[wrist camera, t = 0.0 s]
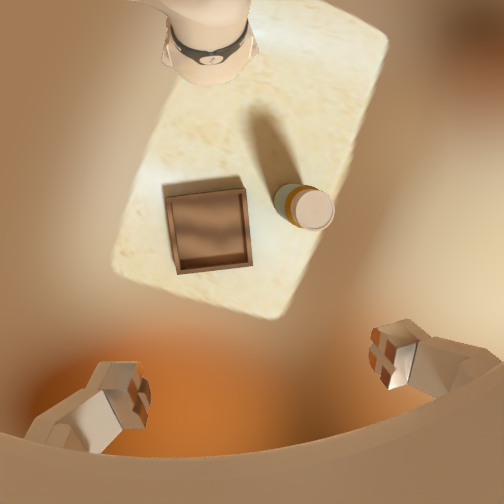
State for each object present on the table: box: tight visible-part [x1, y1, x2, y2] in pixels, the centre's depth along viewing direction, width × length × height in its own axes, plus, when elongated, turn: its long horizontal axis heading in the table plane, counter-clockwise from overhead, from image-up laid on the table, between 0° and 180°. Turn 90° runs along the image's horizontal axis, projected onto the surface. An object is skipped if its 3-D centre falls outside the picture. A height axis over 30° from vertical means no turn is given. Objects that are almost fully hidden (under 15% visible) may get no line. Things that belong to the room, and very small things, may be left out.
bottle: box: [274, 183, 335, 231], centre depth 50 cm, size 7×7×15 cm
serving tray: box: [166, 188, 253, 275], centre depth 55 cm, size 15×15×2 cm
